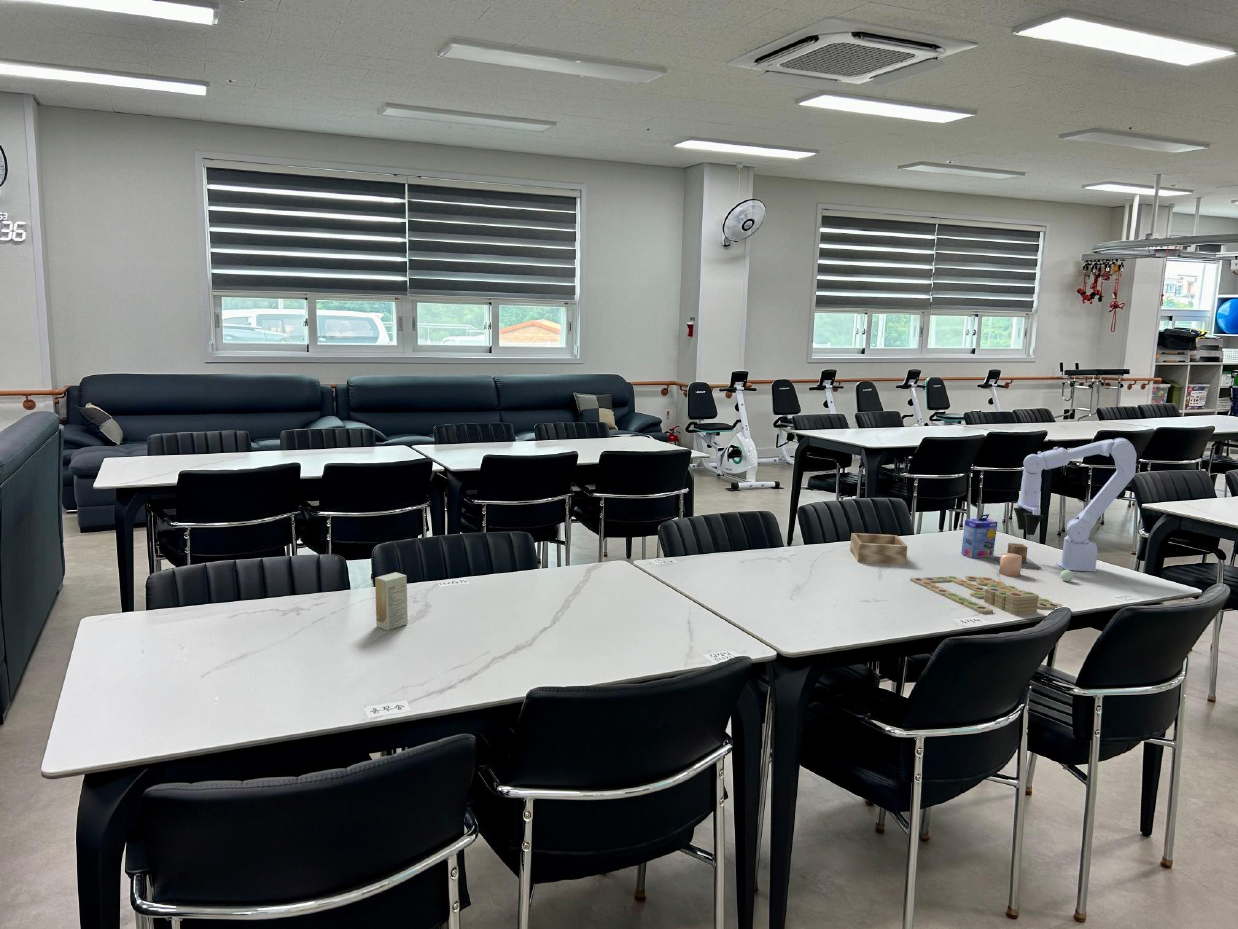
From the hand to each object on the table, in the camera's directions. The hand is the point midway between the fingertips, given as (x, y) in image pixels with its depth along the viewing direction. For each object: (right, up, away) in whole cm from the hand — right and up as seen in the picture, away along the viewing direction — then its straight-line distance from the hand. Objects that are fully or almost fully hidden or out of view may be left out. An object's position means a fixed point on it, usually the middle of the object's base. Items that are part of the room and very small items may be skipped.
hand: (1026, 532), depth 288 cm
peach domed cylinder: (-12, -12, -14) cm, 22 cm away
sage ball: (+3, -13, -21) cm, 25 cm away
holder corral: (-49, -8, +1) cm, 49 cm away
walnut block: (-4, -10, -1) cm, 10 cm away
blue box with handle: (-13, -9, +8) cm, 17 cm away
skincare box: (-187, -16, -79) cm, 204 cm away
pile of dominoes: (-29, -16, -37) cm, 49 cm away
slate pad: (-4, -10, -1) cm, 11 cm away
